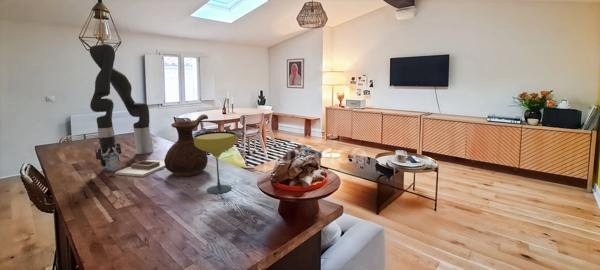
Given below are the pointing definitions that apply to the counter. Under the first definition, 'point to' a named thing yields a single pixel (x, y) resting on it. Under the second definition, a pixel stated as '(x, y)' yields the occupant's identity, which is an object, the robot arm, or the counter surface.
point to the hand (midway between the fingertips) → (110, 164)
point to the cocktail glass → (216, 151)
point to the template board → (142, 168)
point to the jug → (186, 151)
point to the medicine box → (111, 163)
